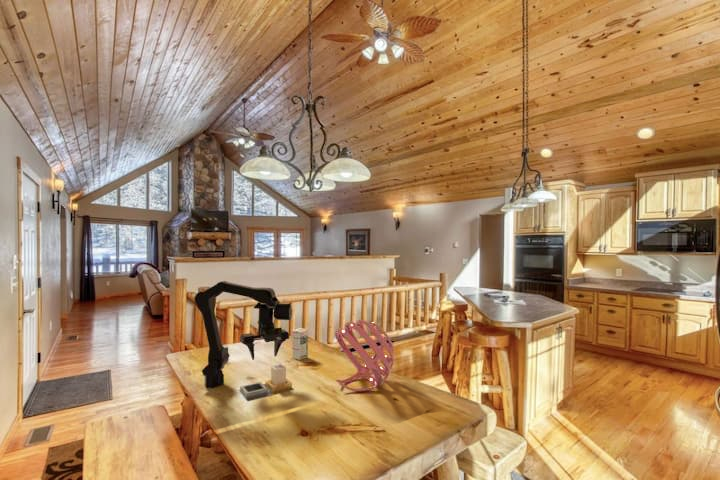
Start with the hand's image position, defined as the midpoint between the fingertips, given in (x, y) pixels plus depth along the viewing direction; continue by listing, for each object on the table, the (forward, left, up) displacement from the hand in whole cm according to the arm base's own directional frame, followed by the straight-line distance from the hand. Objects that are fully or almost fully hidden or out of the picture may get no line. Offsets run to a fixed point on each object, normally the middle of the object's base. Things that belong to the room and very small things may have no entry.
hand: (264, 357), depth 140 cm
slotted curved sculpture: (+35, -21, -12) cm, 43 cm away
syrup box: (+28, +27, -12) cm, 41 cm away
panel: (-1, -5, -12) cm, 13 cm away
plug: (+4, -5, -11) cm, 13 cm away
